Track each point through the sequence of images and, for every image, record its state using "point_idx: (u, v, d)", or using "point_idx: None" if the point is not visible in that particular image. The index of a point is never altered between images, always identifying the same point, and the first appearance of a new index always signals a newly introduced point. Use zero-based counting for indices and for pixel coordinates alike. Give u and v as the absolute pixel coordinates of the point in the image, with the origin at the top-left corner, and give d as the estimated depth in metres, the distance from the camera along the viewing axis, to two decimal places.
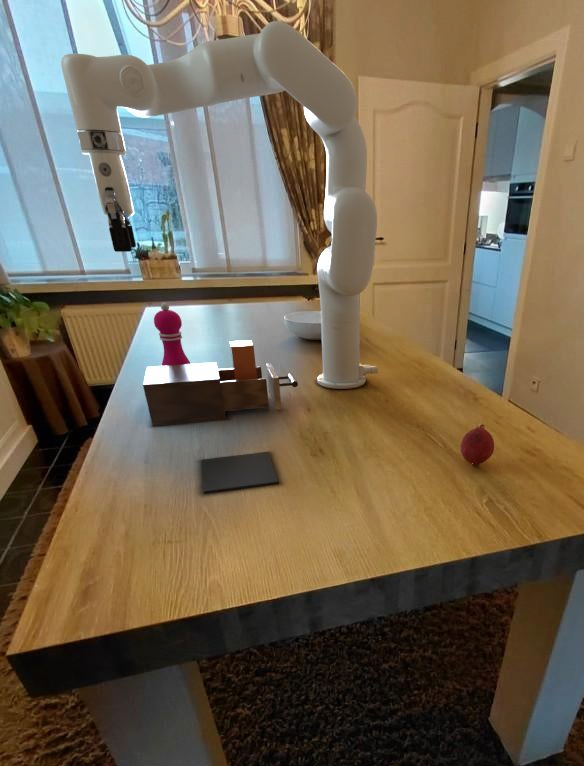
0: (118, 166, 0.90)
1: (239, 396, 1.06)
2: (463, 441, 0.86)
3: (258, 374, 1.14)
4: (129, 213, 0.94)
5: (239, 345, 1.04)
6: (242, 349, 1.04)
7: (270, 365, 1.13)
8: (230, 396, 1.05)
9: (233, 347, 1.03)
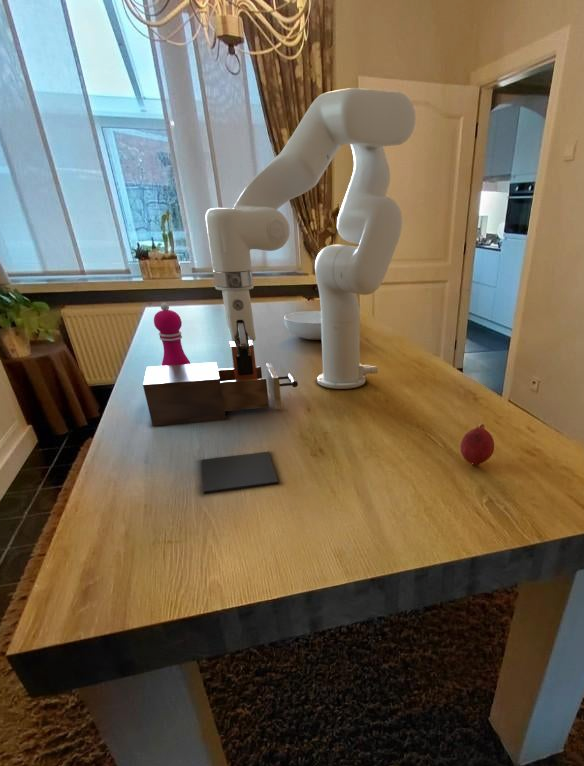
0: (249, 301, 0.98)
1: (239, 396, 1.06)
2: (463, 441, 0.86)
3: (258, 374, 1.14)
4: (254, 339, 1.02)
5: None
6: None
7: (270, 365, 1.13)
8: (230, 396, 1.05)
9: (233, 347, 1.03)
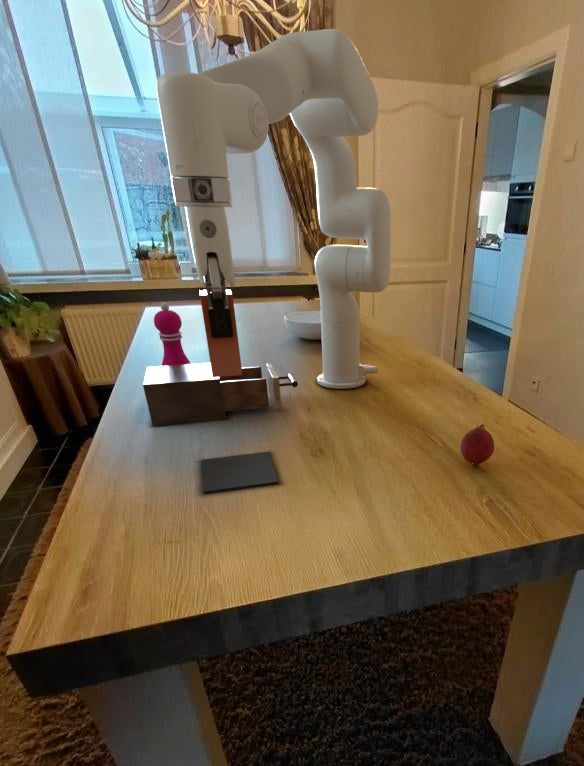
0: (225, 224, 0.66)
1: (239, 396, 1.06)
2: (463, 441, 0.86)
3: (258, 374, 1.14)
4: (234, 284, 0.70)
5: None
6: None
7: (270, 365, 1.13)
8: (230, 396, 1.05)
9: (203, 296, 0.71)
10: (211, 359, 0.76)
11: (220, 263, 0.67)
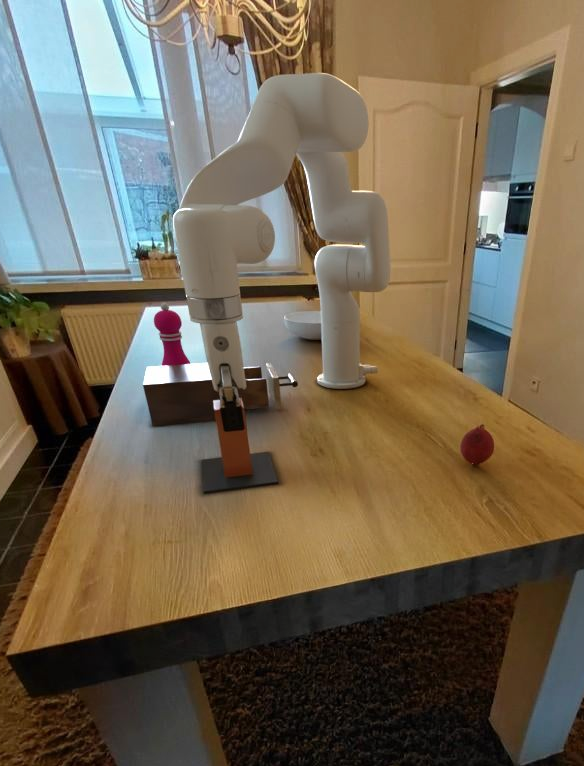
0: (237, 337, 0.70)
1: (239, 396, 1.06)
2: (463, 441, 0.86)
3: (258, 374, 1.14)
4: None
5: None
6: None
7: (270, 365, 1.13)
8: None
9: (217, 411, 0.77)
10: (224, 463, 0.82)
11: (232, 372, 0.72)
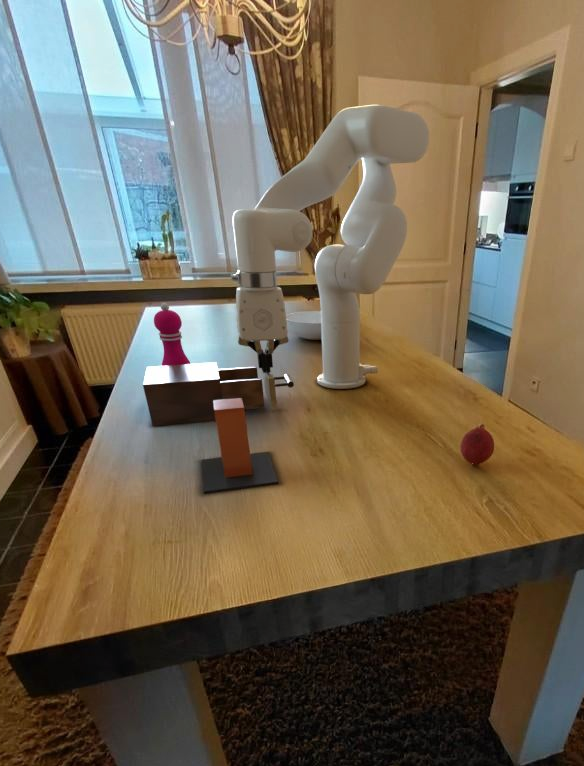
0: (239, 300, 0.99)
1: (235, 396, 1.06)
2: (463, 441, 0.86)
3: (254, 374, 1.14)
4: (243, 339, 1.02)
5: (225, 407, 0.78)
6: (228, 412, 0.77)
7: None
8: (225, 397, 1.05)
9: (217, 411, 0.77)
10: (224, 463, 0.82)
11: (237, 323, 1.02)
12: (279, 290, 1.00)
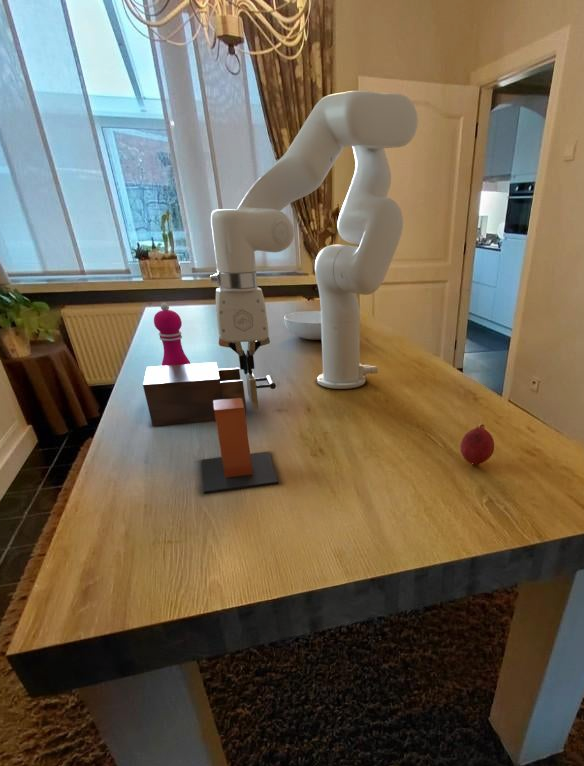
0: (219, 301, 0.98)
1: None
2: (463, 441, 0.86)
3: (236, 376, 1.13)
4: (223, 340, 1.01)
5: (225, 407, 0.78)
6: (228, 412, 0.77)
7: None
8: None
9: (217, 411, 0.77)
10: (224, 463, 0.82)
11: (217, 324, 1.01)
12: (259, 291, 0.99)
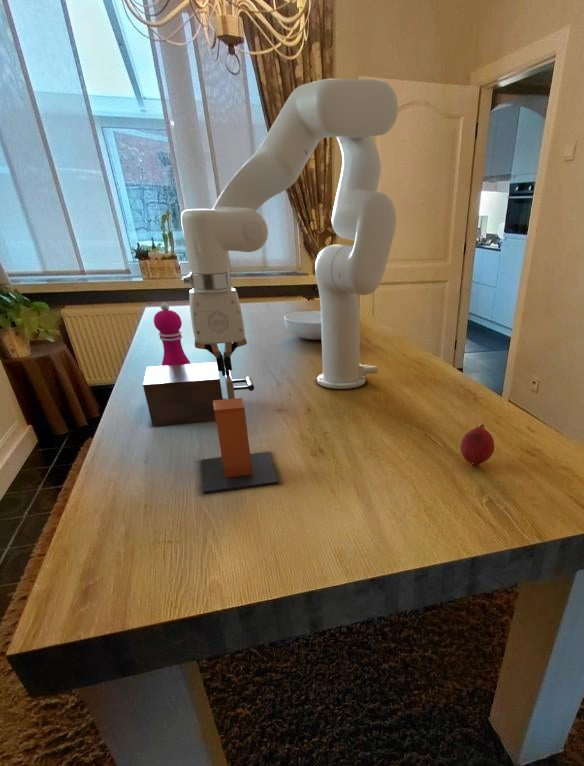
0: (192, 303, 0.96)
1: None
2: (463, 441, 0.86)
3: None
4: (199, 342, 1.00)
5: (225, 407, 0.78)
6: (228, 412, 0.77)
7: None
8: None
9: (217, 411, 0.77)
10: (224, 463, 0.82)
11: (192, 326, 1.00)
12: (233, 291, 0.98)
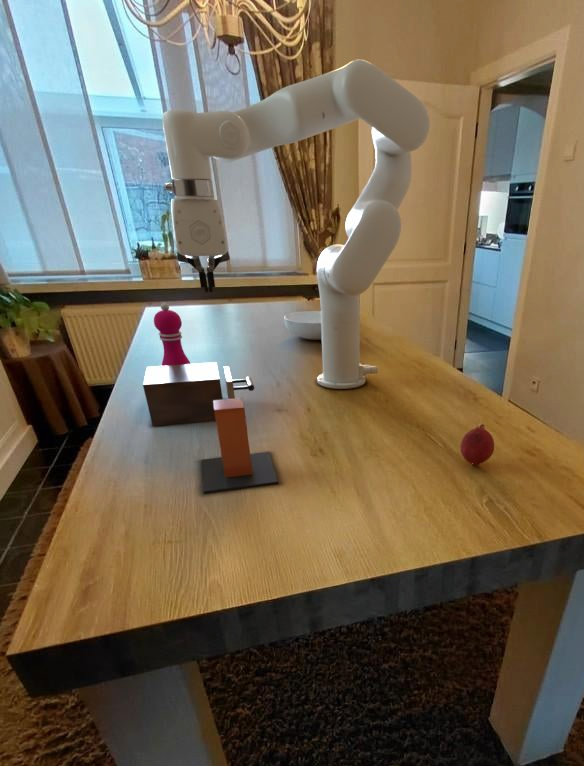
0: (174, 210, 0.96)
1: None
2: (463, 441, 0.86)
3: None
4: (181, 253, 1.00)
5: (225, 407, 0.78)
6: (228, 412, 0.77)
7: (227, 368, 1.11)
8: None
9: (217, 411, 0.77)
10: (224, 463, 0.82)
11: None
12: (215, 201, 0.97)
